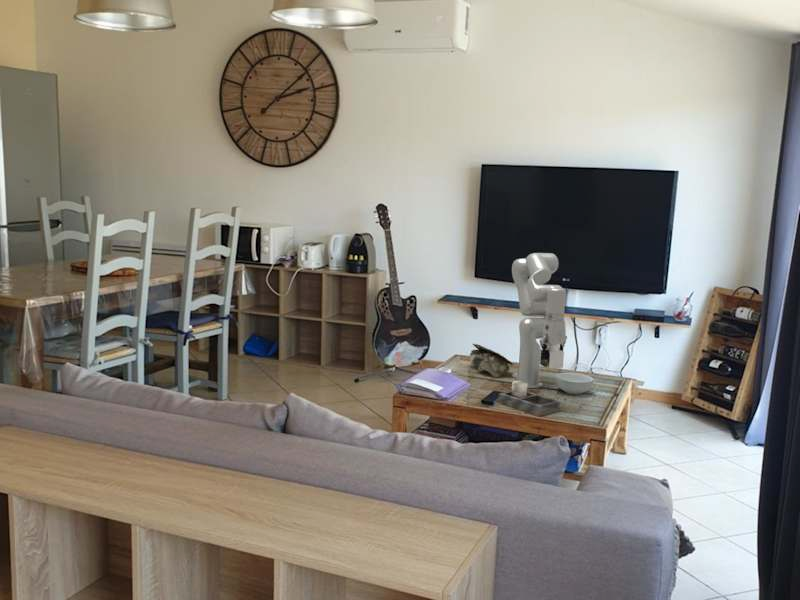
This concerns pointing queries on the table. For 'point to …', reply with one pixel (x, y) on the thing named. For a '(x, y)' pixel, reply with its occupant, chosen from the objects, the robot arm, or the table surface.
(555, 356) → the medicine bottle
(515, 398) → the rail rack
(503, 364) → the hollow geode rock
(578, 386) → the cereal bowl
